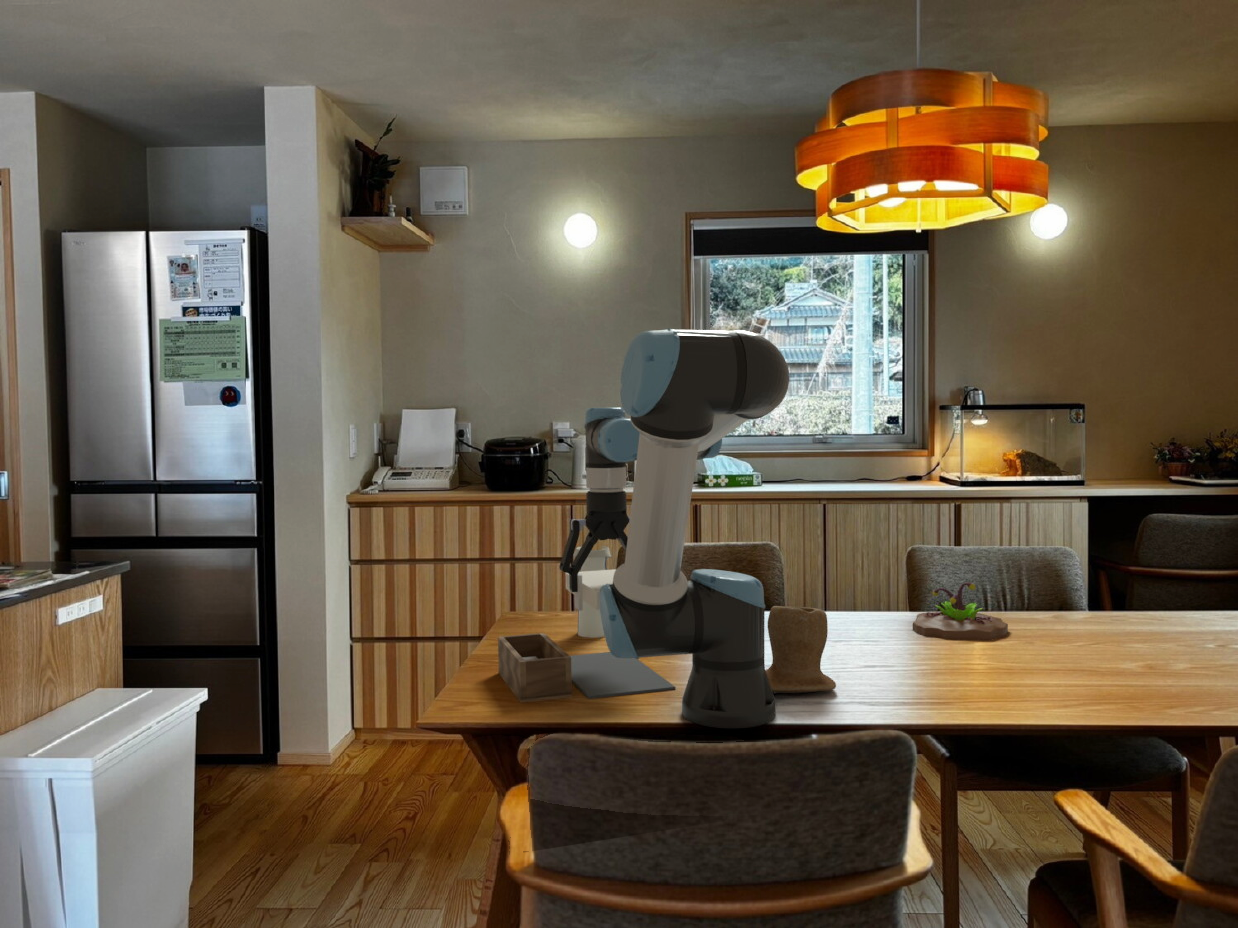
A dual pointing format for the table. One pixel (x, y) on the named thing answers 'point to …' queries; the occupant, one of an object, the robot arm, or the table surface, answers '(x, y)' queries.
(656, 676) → the rubber mat
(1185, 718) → the table surface
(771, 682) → the brown suede boot shape
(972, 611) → the plant
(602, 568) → the water bottle
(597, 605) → the lid
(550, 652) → the walnut box
